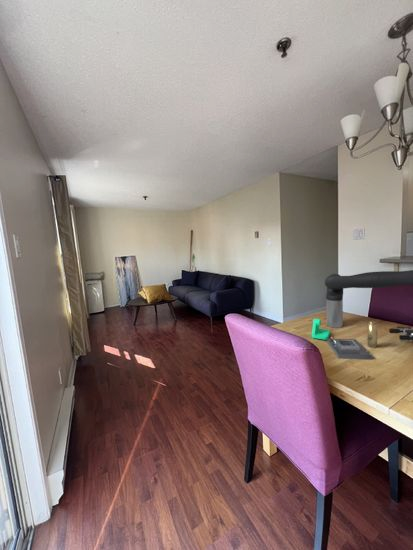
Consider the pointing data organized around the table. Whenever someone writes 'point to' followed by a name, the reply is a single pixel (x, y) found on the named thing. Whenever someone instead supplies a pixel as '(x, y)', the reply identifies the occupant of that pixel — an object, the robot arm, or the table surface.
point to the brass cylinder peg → (372, 334)
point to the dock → (348, 349)
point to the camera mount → (319, 330)
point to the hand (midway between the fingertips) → (394, 334)
